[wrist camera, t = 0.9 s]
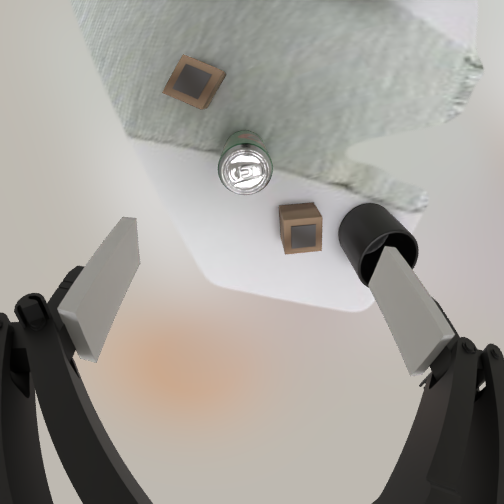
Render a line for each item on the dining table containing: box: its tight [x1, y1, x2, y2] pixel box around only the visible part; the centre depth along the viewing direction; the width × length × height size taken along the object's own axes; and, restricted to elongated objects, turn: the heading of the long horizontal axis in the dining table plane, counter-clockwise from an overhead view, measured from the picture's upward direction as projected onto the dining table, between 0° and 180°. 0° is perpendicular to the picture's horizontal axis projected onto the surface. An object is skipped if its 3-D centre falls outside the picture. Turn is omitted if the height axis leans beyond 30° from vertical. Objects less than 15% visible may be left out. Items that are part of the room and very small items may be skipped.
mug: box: [339, 204, 418, 287], centre depth 38 cm, size 9×12×9 cm
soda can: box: [218, 131, 273, 195], centre depth 29 cm, size 5×5×12 cm
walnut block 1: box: [162, 54, 226, 110], centre depth 27 cm, size 5×5×5 cm
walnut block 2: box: [279, 203, 322, 254], centre depth 38 cm, size 5×5×5 cm
